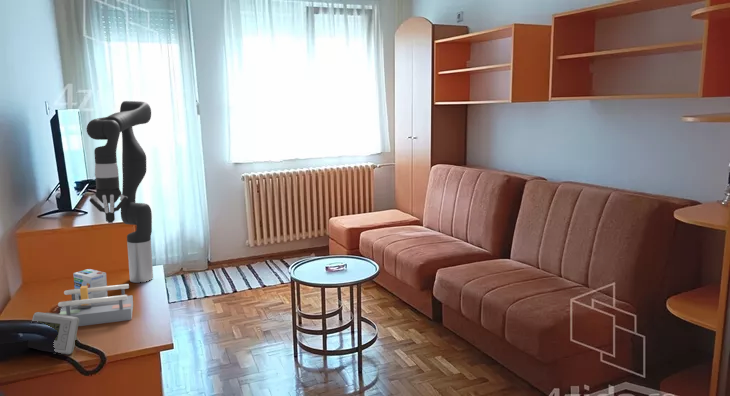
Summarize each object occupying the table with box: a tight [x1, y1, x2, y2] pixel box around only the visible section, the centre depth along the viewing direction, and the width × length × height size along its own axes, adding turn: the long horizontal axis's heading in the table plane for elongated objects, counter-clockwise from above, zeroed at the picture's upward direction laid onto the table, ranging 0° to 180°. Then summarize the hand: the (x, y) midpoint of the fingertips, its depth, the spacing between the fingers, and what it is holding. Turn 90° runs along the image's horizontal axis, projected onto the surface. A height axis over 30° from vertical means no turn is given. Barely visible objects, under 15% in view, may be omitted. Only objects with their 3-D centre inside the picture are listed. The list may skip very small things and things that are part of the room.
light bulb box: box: [72, 268, 109, 300], centre depth 197 cm, size 11×7×11 cm, turn 62°
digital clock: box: [31, 311, 79, 355], centre depth 157 cm, size 16×9×11 cm, turn 64°
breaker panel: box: [57, 283, 134, 327], centre depth 181 cm, size 14×22×9 cm, turn 111°
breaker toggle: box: [78, 286, 93, 309], centre depth 179 cm, size 4×4×7 cm
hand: (110, 222), depth 190 cm, fingers closed
